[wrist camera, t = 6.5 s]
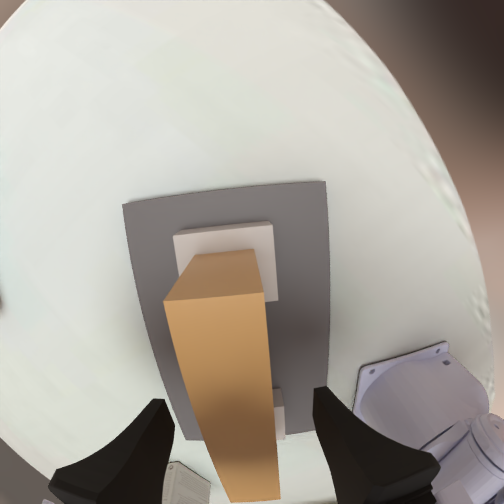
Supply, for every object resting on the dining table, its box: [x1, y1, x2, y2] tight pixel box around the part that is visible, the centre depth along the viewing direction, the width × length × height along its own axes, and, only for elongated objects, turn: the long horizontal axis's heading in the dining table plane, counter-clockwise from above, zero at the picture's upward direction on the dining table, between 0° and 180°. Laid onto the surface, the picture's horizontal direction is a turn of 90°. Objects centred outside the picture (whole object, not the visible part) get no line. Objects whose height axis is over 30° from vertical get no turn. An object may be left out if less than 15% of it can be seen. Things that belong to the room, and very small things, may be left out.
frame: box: [163, 249, 281, 503], centre depth 12 cm, size 3×14×6 cm, turn 6°
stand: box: [122, 181, 330, 441], centre depth 16 cm, size 12×20×4 cm, turn 5°
